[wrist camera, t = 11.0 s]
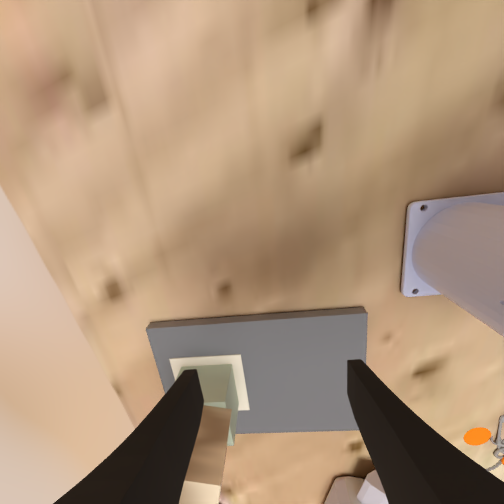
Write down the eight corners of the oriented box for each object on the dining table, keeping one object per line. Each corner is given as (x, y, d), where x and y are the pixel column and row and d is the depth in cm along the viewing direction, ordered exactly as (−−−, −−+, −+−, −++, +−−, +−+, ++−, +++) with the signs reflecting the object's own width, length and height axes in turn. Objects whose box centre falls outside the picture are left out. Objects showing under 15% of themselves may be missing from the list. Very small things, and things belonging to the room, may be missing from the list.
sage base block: (231, 363, 23) (225, 401, 19) (238, 403, 24) (233, 445, 21) (181, 366, 23) (165, 404, 20) (191, 405, 25) (178, 446, 21)
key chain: (467, 408, 25) (473, 416, 24) (542, 410, 24) (552, 418, 24) (441, 487, 29) (446, 496, 28) (505, 490, 28) (512, 499, 28)
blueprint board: (363, 306, 21) (368, 313, 20) (360, 420, 26) (364, 430, 25) (150, 322, 23) (145, 329, 22) (180, 426, 28) (177, 436, 27)
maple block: (231, 409, 19) (220, 485, 15) (226, 450, 21) (214, 532, 16) (170, 400, 19) (139, 474, 15) (170, 442, 21) (142, 521, 16)
